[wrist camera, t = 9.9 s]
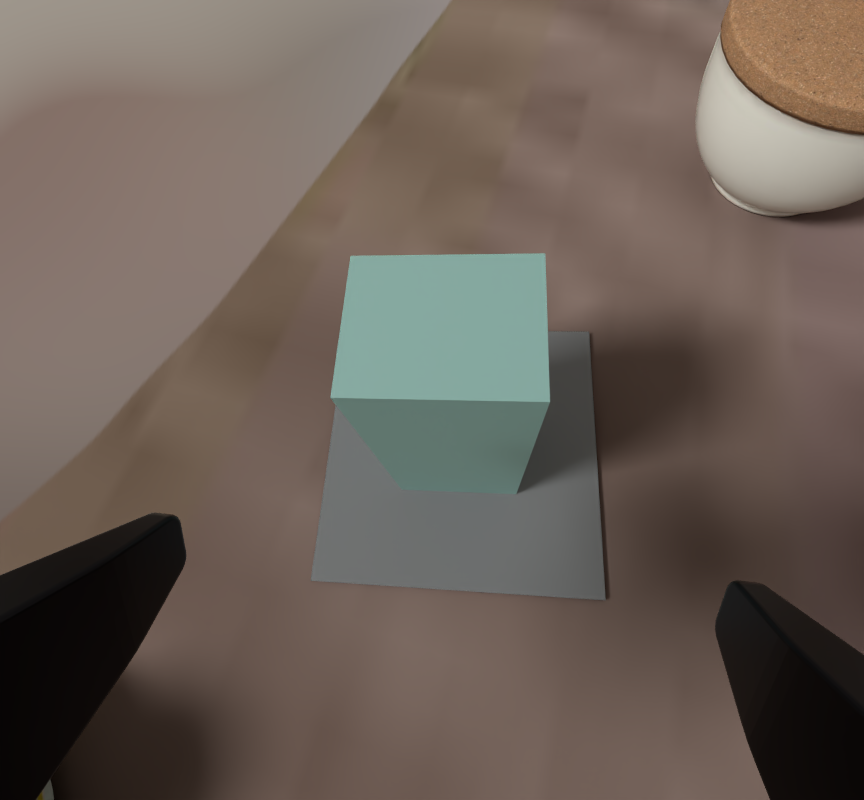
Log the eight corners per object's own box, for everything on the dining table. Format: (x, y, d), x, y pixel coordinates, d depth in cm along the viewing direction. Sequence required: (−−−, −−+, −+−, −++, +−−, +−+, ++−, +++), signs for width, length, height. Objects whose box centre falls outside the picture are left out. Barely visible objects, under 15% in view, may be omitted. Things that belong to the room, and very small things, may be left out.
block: (516, 494, 21) (549, 402, 11) (401, 489, 22) (330, 397, 11) (515, 407, 22) (545, 253, 12) (408, 404, 23) (350, 255, 13)
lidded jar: (635, 212, 26) (711, 22, 17) (701, 81, 29) (795, -136, 20) (853, 284, 23) (1073, 102, 15) (902, 132, 26) (1109, -95, 18)
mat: (604, 600, 19) (605, 600, 19) (312, 580, 21) (310, 580, 20) (588, 333, 24) (588, 331, 23) (347, 331, 25) (346, 329, 25)
